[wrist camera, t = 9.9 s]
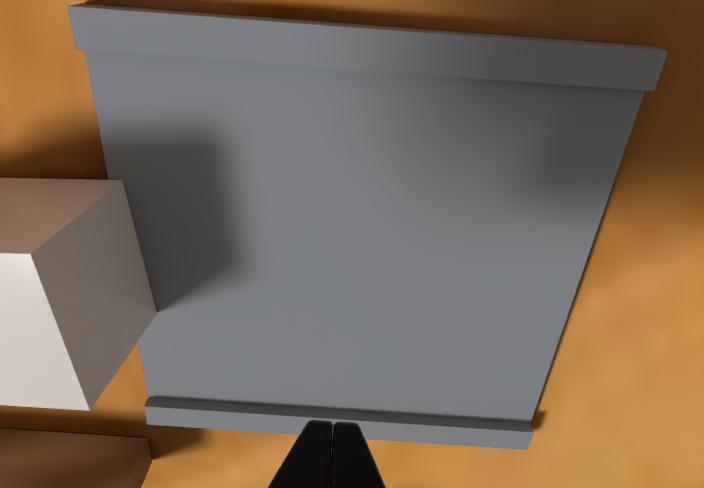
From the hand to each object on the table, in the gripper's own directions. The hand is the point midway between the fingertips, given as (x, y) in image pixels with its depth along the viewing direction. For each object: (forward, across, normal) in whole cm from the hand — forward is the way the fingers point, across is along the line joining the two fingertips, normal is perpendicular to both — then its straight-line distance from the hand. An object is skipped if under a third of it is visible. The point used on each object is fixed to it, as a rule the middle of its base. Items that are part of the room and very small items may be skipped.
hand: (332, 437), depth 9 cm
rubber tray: (+6, 0, 0) cm, 6 cm away
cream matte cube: (+6, +7, 0) cm, 9 cm away
